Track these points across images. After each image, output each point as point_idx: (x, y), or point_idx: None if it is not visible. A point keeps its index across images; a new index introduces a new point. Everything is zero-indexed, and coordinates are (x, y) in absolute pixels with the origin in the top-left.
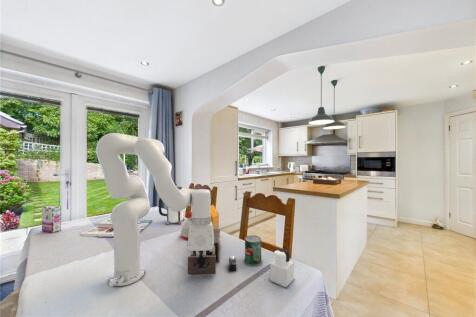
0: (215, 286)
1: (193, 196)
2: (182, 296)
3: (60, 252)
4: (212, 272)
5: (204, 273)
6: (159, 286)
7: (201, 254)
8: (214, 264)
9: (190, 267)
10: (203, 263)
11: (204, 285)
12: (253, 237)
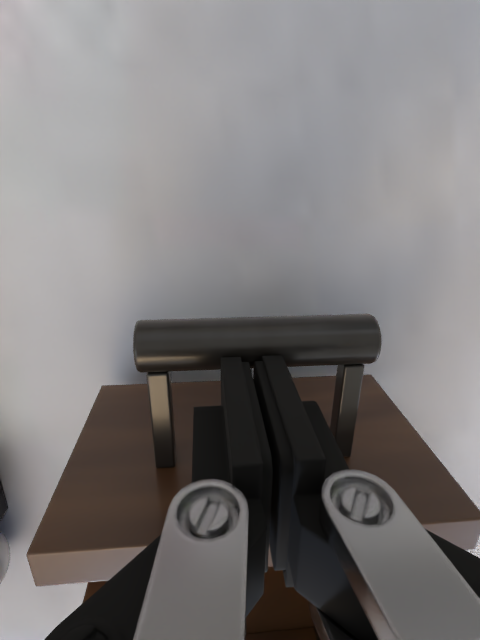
0: (76, 226)
1: None
2: (391, 79)
3: None
4: (130, 394)
5: (213, 385)
6: None
7: (278, 621)
8: (84, 455)
9: (375, 420)
10: (218, 406)
11: (193, 246)
12: None
